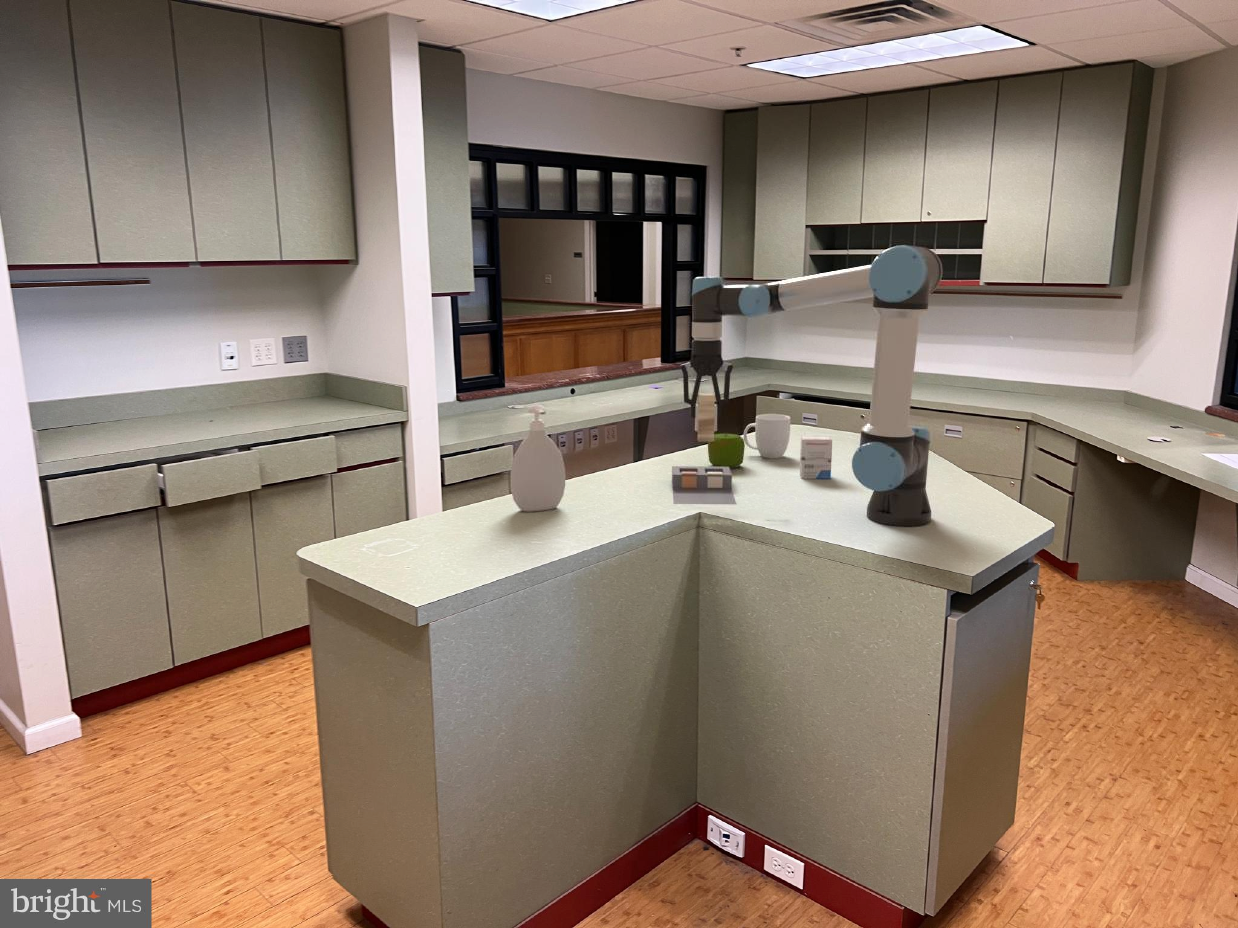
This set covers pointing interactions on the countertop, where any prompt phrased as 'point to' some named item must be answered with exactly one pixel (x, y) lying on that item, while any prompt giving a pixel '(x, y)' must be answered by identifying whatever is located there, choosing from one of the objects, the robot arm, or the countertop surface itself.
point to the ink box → (815, 457)
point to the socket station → (702, 485)
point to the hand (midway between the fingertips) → (705, 430)
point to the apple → (726, 450)
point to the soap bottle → (537, 469)
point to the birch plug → (706, 417)
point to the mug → (770, 435)
